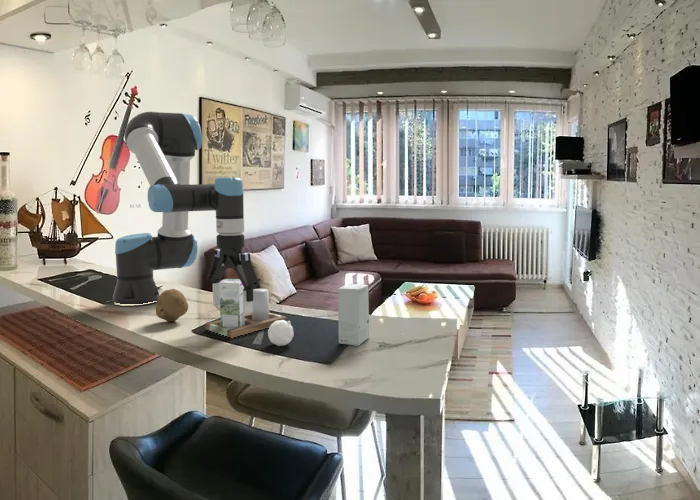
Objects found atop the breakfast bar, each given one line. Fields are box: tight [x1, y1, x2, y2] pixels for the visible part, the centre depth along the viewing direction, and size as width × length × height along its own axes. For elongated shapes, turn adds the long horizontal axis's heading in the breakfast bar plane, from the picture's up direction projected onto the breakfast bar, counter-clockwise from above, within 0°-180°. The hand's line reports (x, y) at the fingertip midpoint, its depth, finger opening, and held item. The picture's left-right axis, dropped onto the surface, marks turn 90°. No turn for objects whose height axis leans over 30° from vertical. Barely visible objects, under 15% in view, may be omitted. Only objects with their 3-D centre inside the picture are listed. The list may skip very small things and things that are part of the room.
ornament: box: [267, 320, 295, 347], centre depth 142 cm, size 6×7×7 cm
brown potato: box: [155, 288, 189, 323], centre depth 164 cm, size 9×9×10 cm
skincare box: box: [337, 283, 370, 347], centre depth 145 cm, size 8×6×15 cm
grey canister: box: [251, 288, 270, 322], centre depth 162 cm, size 5×5×10 cm
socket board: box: [205, 312, 288, 339], centre depth 159 cm, size 12×20×2 cm, turn 139°
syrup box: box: [219, 278, 245, 329], centre depth 154 cm, size 6×6×14 cm
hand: (232, 309), depth 154 cm, fingers open, 13 cm apart
